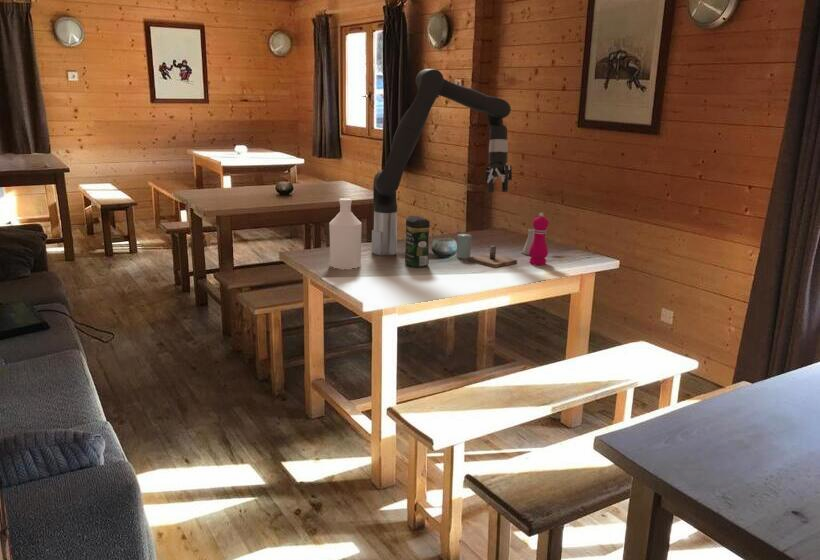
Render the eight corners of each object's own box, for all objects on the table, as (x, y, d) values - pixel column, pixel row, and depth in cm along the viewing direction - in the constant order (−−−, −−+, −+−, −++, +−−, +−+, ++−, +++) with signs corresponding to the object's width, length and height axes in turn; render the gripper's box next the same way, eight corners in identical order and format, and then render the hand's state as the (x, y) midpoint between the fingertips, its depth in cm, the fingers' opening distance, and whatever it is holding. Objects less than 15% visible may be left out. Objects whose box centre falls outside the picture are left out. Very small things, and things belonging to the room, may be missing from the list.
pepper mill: (540, 260, 268) (544, 210, 263) (550, 264, 262) (554, 213, 257) (524, 261, 266) (528, 211, 260) (534, 266, 259) (538, 214, 254)
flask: (540, 256, 277) (542, 232, 274) (522, 255, 277) (524, 231, 274) (537, 252, 284) (539, 228, 281) (520, 251, 284) (522, 228, 281)
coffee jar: (401, 262, 259) (402, 214, 254) (420, 261, 262) (421, 213, 258) (412, 268, 251) (413, 219, 246) (431, 267, 254) (433, 218, 249)
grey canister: (463, 259, 267) (464, 237, 265) (453, 256, 271) (454, 234, 269) (473, 257, 271) (474, 235, 268) (463, 255, 275) (464, 233, 272)
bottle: (359, 261, 259) (359, 196, 253) (363, 269, 248) (364, 201, 242) (328, 262, 257) (327, 196, 250) (331, 270, 246) (330, 201, 239)
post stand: (494, 267, 255) (494, 251, 254) (467, 260, 266) (468, 245, 264) (516, 263, 263) (517, 247, 262) (490, 256, 274) (491, 241, 272)
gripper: (479, 152, 276) (479, 192, 278) (502, 149, 264) (502, 191, 266) (494, 153, 280) (493, 192, 282) (517, 150, 268) (516, 191, 270)
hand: (497, 192), depth 274 cm, fingers open, 8 cm apart
